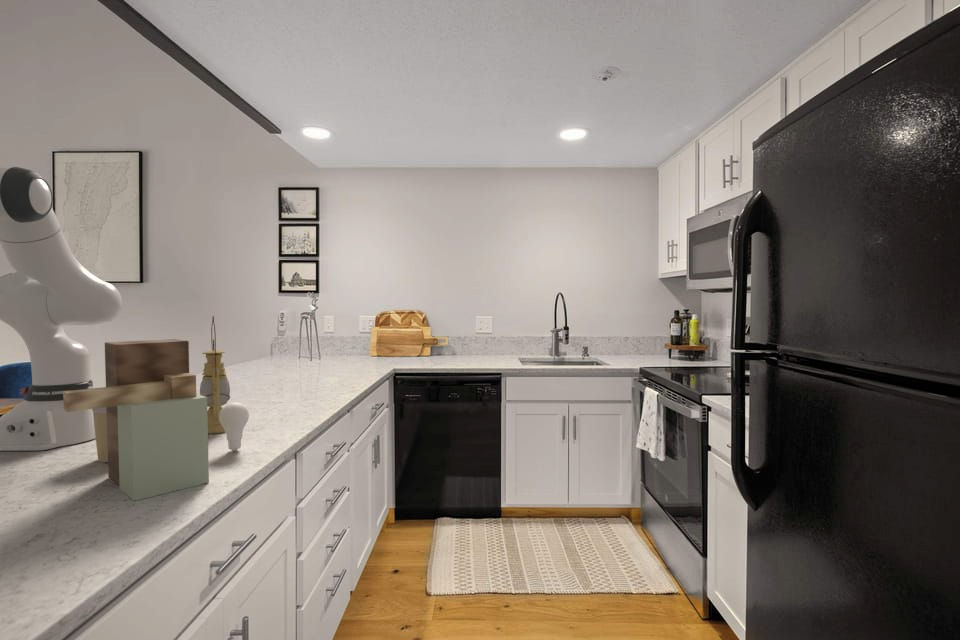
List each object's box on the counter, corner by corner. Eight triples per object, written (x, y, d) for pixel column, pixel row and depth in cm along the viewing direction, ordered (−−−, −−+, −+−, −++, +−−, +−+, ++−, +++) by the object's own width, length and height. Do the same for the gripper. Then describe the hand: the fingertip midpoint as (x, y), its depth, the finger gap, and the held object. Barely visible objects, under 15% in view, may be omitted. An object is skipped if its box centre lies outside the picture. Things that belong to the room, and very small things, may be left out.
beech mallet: (68, 412, 83) (67, 387, 83) (62, 408, 86) (62, 384, 86) (196, 396, 97) (196, 375, 97) (187, 393, 100) (187, 372, 100)
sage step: (133, 500, 88) (131, 407, 88) (119, 488, 94) (117, 400, 94) (208, 482, 97) (207, 397, 96) (191, 472, 103) (189, 391, 103)
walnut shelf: (119, 488, 94) (115, 344, 93) (108, 478, 100) (104, 342, 99) (191, 471, 103) (188, 340, 102) (177, 463, 109) (174, 339, 108)
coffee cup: (140, 449, 119) (139, 397, 119) (150, 457, 113) (149, 402, 112) (89, 457, 113) (88, 402, 112) (97, 467, 106) (95, 408, 106)
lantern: (192, 427, 140) (189, 315, 139) (232, 423, 145) (230, 315, 144) (194, 437, 129) (191, 316, 128) (237, 432, 134) (235, 316, 133)
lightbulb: (237, 455, 114) (236, 405, 114) (213, 454, 115) (212, 404, 115) (255, 447, 120) (254, 400, 120) (231, 446, 121) (230, 399, 121)
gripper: (-112, 304, 65) (15, 254, 73) (-107, 303, 78) (-2, 261, 87) (-72, 346, 67) (45, 293, 76) (-75, 338, 81) (25, 293, 90)
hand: (20, 276), depth 81 cm, fingers open, 8 cm apart
